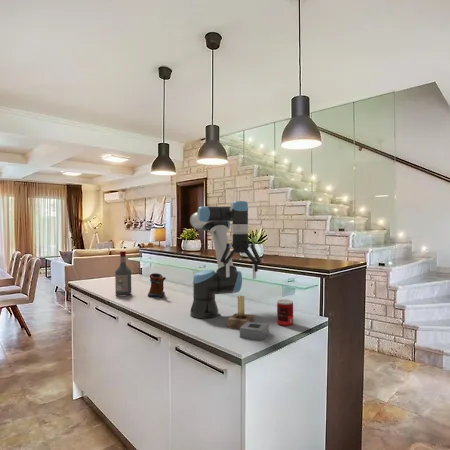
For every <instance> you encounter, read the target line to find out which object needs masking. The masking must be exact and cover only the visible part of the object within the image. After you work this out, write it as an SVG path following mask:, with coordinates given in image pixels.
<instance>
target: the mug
mask: <svg viewBox="0 0 450 450" xmlns="http://www.w3.org/2000/svg"><path fill="white" fill-rule="evenodd" d="M149 278H150V279H149V281H150V287H149V288H150V289H149V291H148V292H147V297H148V298H151V297H152V299H155V298H156V299H157V297H158V298H161V299H163V297H165V295H166V293H165V291H164V281H165V280H166V279H167V278H166V277H165V276H163V274H161V273H156V272H153V273H151V274H149Z"/></svg>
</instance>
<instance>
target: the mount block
mask: <svg viewBox="0 0 450 450" xmlns="http://www.w3.org/2000/svg"><path fill="white" fill-rule="evenodd" d="M247 321H249V322H256V321H255V314H254V315H252V314H245V319H238V312H236V313H234V314H233V315H231V316H229V317H228V318H227V328H231V329H237V330H238V329H239V330H240V327H242V326H243V325H244V324H245V323H246V322H247Z"/></svg>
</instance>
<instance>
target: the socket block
mask: <svg viewBox="0 0 450 450" xmlns="http://www.w3.org/2000/svg"><path fill="white" fill-rule="evenodd" d="M269 325H270V324H269V323H266V322H265V323H264V322H257V321H255V322H249V321H247V322H246V323H245V324H244V325H243V326H242V327H240V329H239V338H245V339H250V340H257V341H263V340H264V339H265V338H266V337H267V336H268V334H269V333H270V331H269V329H270V327H269Z"/></svg>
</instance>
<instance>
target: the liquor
mask: <svg viewBox="0 0 450 450" xmlns="http://www.w3.org/2000/svg"><path fill="white" fill-rule="evenodd" d="M126 256H127V254H126V251H123V250H122V251H120V252H119V259H120V262H119V263H120V264H119V266H118V267H117V269H115V271H114V275H115V278H114V279H115V281H114V282H115V283H114V284H115V295H116V296H117V295H127V296H129V295H128V294H130V293H131V294H132V270H131V269H130V267H129V266H127V263H126ZM131 294H130V295H131Z"/></svg>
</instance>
